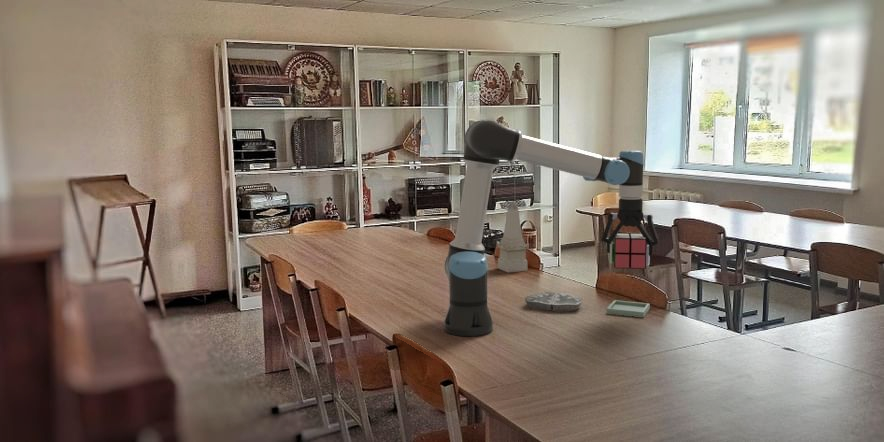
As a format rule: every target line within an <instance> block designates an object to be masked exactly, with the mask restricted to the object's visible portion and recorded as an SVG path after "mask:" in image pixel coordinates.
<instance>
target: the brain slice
mask: <svg viewBox="0 0 884 442" xmlns="http://www.w3.org/2000/svg"><path fill="white" fill-rule="evenodd" d="M524 301H525V303H526V304H527V306H528V307H530V308H531V309H534V310H540V311H546V312H547V311H548V312H559V311H560V312H574V311H576V310H577V309H578V308H579V307H580V305H581V304H582V302H583V298H580V297H579V296H577V295H573V294H571V293H565V292H558V293H557V292H556V293H555V292H550V291H549V292H546V291H545V292H539V293H538V292H537V293H536V294H532V295H529V296H527V297H525V299H524Z"/></svg>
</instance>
